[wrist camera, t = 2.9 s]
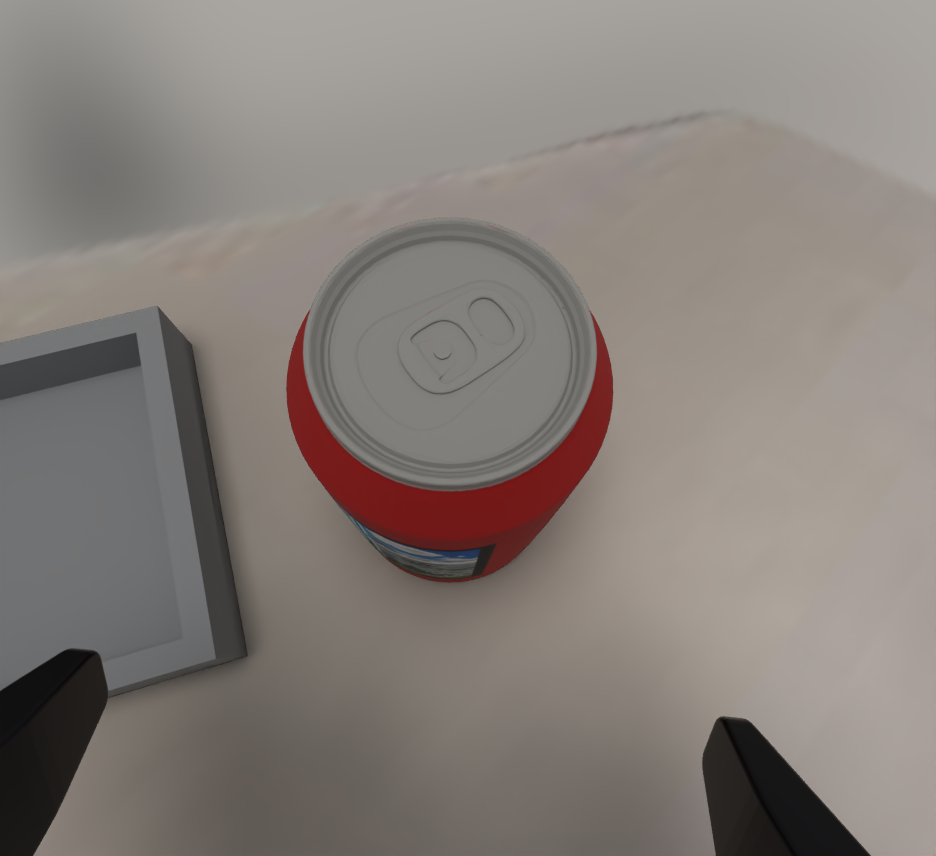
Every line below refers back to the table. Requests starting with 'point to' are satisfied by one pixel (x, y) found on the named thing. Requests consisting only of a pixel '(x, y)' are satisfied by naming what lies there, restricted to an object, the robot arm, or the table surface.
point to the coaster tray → (111, 506)
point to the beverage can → (449, 393)
